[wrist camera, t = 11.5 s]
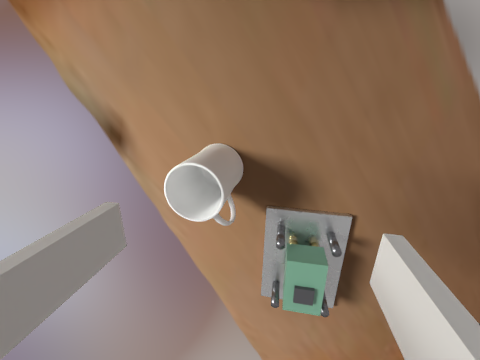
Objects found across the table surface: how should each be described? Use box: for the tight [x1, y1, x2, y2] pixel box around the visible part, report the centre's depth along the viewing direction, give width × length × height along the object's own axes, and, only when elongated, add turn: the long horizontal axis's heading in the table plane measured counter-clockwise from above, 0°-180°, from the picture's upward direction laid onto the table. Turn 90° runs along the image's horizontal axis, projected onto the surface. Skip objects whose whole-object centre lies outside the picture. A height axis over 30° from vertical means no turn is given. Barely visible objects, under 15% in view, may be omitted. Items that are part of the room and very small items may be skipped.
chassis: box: [261, 206, 352, 317], centre depth 39 cm, size 20×14×6 cm
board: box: [283, 243, 328, 316], centre depth 37 cm, size 10×6×5 cm, turn 0°
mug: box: [164, 144, 243, 226], centre depth 34 cm, size 12×8×12 cm
